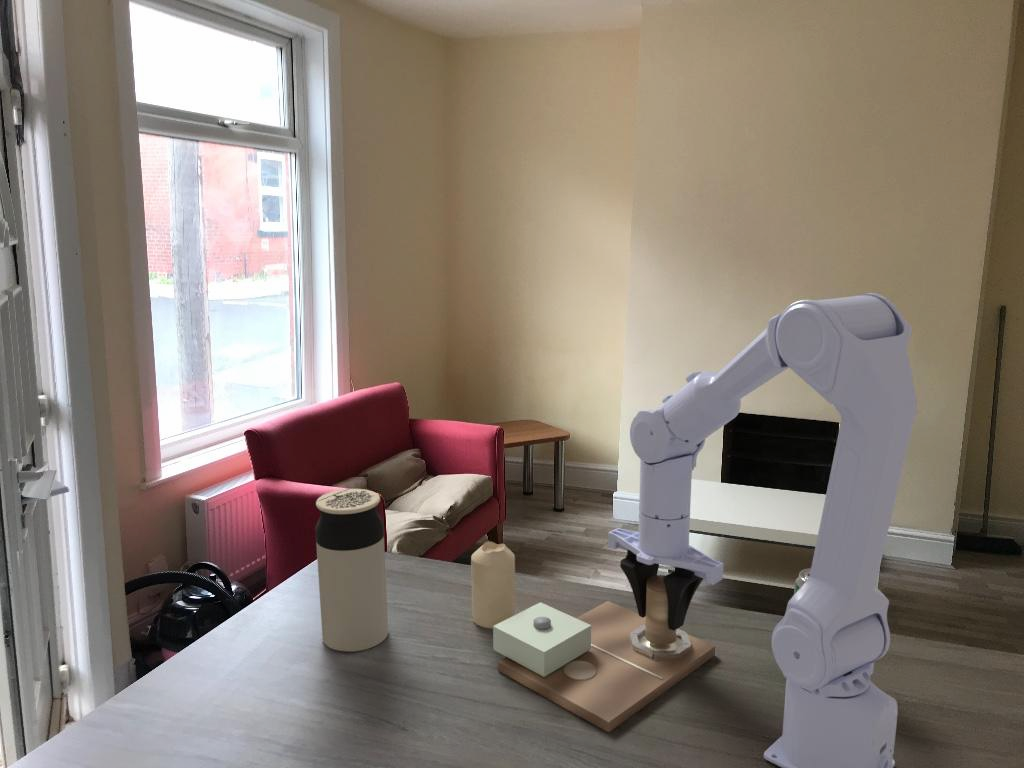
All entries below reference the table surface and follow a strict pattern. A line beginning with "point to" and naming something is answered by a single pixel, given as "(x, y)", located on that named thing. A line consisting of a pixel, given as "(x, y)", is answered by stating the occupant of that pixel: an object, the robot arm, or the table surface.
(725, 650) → the table surface
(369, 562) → the travel mug
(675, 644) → the socket ring
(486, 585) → the candle
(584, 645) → the cover
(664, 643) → the peg
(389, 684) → the table surface
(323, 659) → the table surface
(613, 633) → the board
